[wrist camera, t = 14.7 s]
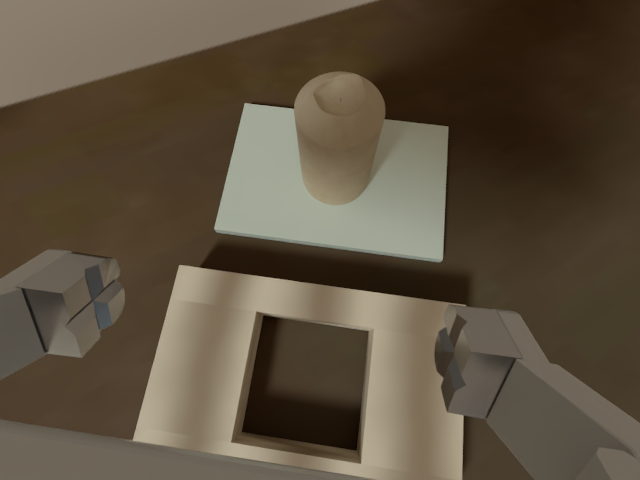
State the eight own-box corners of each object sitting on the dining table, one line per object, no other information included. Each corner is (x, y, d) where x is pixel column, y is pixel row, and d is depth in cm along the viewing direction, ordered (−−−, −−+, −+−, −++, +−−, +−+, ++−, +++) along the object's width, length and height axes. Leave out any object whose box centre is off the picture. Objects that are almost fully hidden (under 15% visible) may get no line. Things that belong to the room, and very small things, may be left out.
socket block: (148, 456, 24) (124, 470, 21) (194, 273, 28) (179, 264, 25) (444, 506, 23) (460, 528, 20) (450, 310, 27) (465, 305, 24)
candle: (338, 134, 31) (344, 37, 21) (382, 178, 29) (410, 95, 20) (288, 172, 30) (272, 87, 20) (332, 219, 28) (335, 152, 19)
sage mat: (216, 232, 29) (214, 229, 28) (246, 109, 33) (244, 103, 32) (439, 262, 28) (442, 259, 27) (445, 132, 32) (448, 126, 31)
